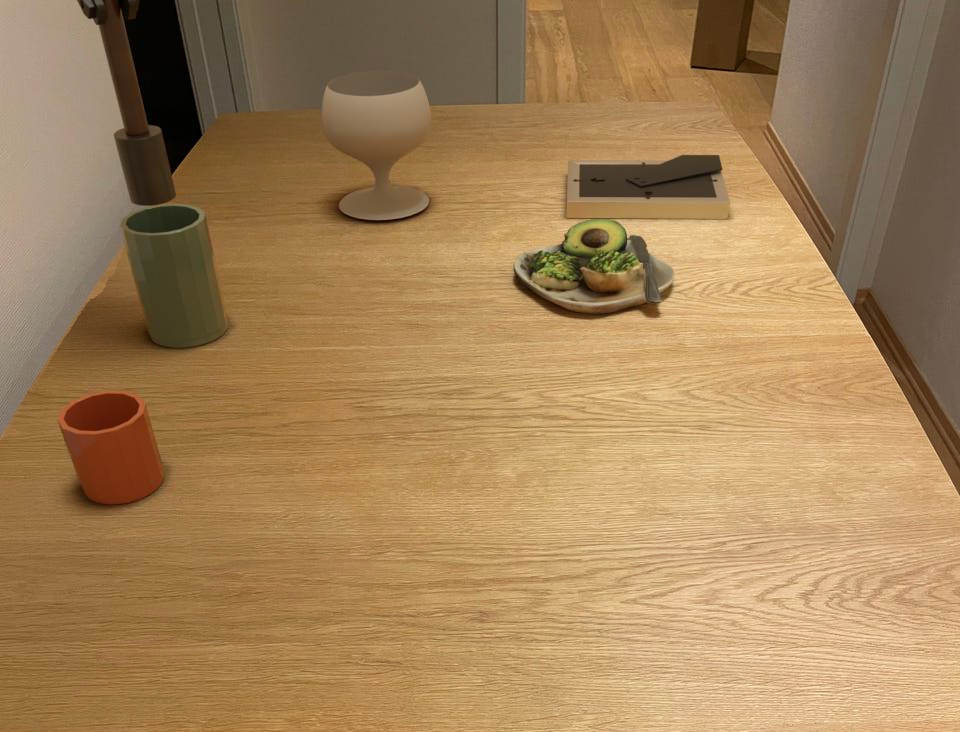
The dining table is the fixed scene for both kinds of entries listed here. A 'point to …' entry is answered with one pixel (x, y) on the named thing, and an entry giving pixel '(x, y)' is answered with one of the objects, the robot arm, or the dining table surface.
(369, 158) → the chalice
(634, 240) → the avocado toast plate
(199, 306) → the sage green cup
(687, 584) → the dining table surface
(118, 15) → the brush
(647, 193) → the picture frame
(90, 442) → the pot
